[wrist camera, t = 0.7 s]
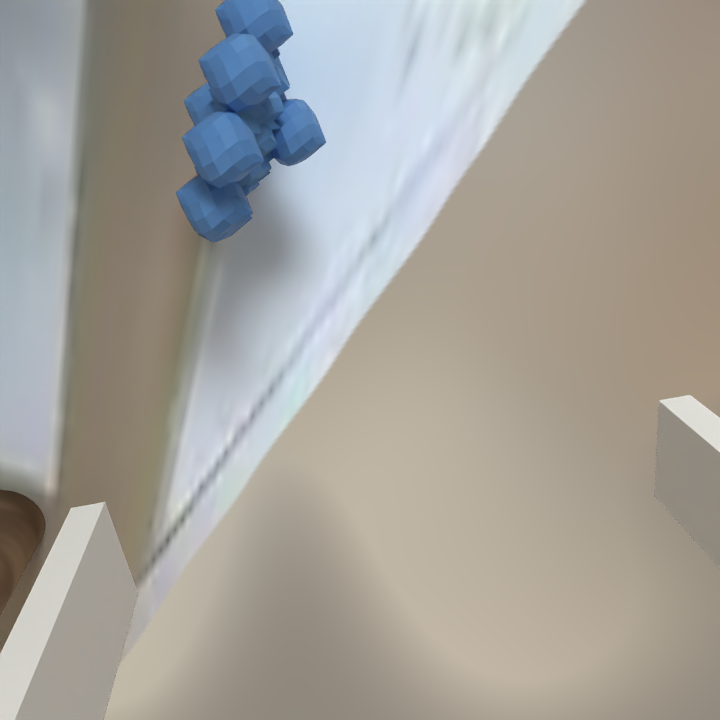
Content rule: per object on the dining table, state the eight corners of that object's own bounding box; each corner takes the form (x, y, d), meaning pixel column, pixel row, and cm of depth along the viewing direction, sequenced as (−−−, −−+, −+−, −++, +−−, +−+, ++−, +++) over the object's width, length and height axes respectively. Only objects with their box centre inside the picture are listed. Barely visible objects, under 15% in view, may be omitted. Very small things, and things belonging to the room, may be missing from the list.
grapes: (294, 235, 39) (299, 293, 28) (179, 205, 38) (136, 253, 27) (347, 24, 35) (376, -5, 24) (220, -18, 34) (190, -69, 23)
